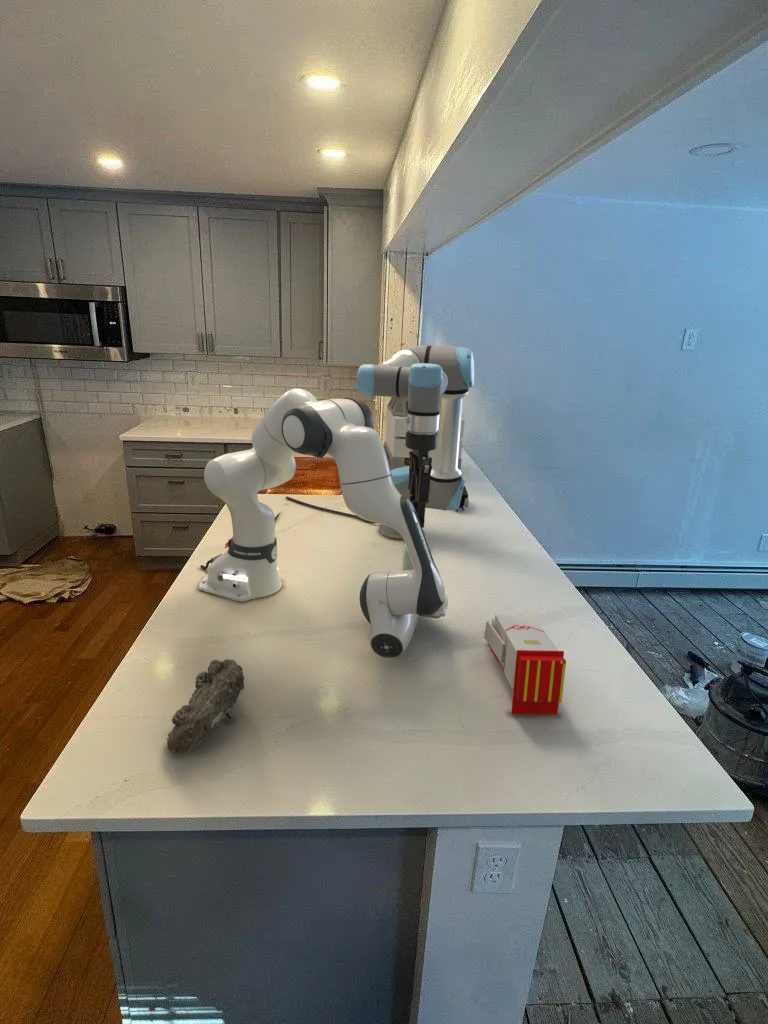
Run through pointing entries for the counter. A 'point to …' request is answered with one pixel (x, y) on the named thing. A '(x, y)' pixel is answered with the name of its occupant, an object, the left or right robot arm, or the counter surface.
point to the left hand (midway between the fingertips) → (412, 585)
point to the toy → (527, 663)
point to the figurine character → (464, 499)
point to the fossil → (206, 705)
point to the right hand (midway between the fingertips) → (416, 523)
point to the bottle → (406, 561)
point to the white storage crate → (403, 435)
